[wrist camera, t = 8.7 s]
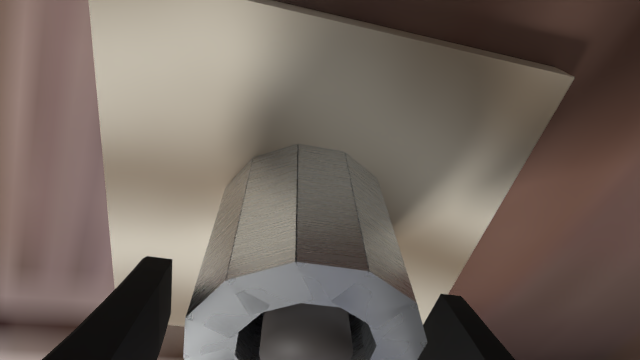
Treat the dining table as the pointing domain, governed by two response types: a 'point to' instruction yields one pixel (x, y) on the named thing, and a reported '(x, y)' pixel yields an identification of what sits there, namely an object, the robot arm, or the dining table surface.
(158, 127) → the post stand
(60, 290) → the dining table surface
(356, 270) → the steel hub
